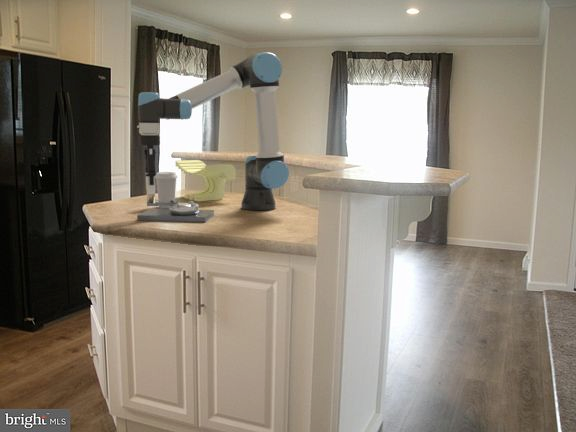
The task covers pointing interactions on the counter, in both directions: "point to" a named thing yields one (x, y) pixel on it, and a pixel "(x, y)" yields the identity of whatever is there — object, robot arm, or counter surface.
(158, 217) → the plate
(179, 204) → the lever with amber grip
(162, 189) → the coffee cup
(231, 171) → the slatted curved stool
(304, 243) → the counter surface
